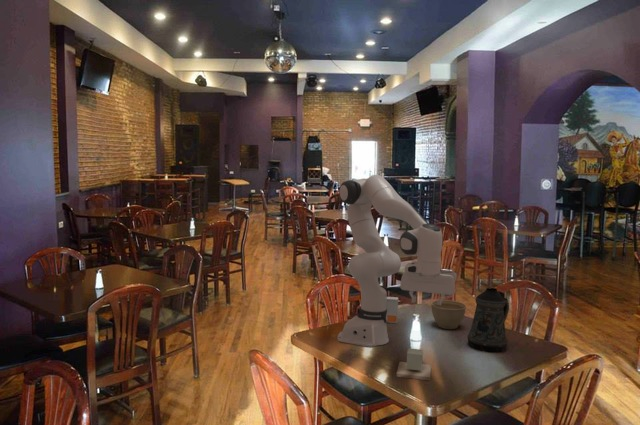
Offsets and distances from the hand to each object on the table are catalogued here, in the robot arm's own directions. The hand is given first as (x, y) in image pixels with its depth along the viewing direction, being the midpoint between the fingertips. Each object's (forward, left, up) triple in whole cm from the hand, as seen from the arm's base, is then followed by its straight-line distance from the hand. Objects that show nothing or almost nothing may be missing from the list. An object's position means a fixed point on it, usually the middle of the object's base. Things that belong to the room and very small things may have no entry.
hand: (426, 303), depth 199 cm
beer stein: (+26, +34, -25) cm, 50 cm away
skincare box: (-18, +55, -25) cm, 63 cm away
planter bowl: (+9, +56, -25) cm, 62 cm away
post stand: (-3, -6, -25) cm, 26 cm away
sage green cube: (-3, -6, -23) cm, 24 cm away
